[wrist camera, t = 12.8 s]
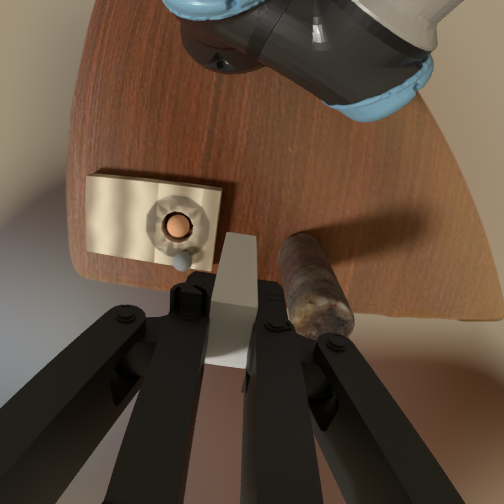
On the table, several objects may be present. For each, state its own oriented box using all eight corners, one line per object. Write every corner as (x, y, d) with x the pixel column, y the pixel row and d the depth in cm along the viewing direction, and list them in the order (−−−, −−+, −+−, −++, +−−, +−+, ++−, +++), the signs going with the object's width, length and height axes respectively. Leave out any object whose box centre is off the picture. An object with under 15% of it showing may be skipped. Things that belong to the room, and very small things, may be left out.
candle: (318, 275, 53) (348, 352, 34) (275, 274, 53) (286, 353, 34) (324, 232, 50) (362, 296, 32) (279, 230, 50) (294, 296, 31)
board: (93, 245, 51) (86, 251, 49) (93, 173, 46) (86, 175, 44) (212, 264, 52) (211, 271, 50) (222, 187, 47) (221, 191, 45)
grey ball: (171, 254, 49) (166, 262, 46) (186, 245, 48) (182, 252, 45) (182, 269, 50) (178, 277, 47) (197, 260, 49) (194, 268, 46)
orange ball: (170, 219, 50) (158, 225, 47) (185, 208, 48) (174, 213, 45) (182, 237, 50) (171, 244, 47) (197, 226, 49) (187, 233, 46)
